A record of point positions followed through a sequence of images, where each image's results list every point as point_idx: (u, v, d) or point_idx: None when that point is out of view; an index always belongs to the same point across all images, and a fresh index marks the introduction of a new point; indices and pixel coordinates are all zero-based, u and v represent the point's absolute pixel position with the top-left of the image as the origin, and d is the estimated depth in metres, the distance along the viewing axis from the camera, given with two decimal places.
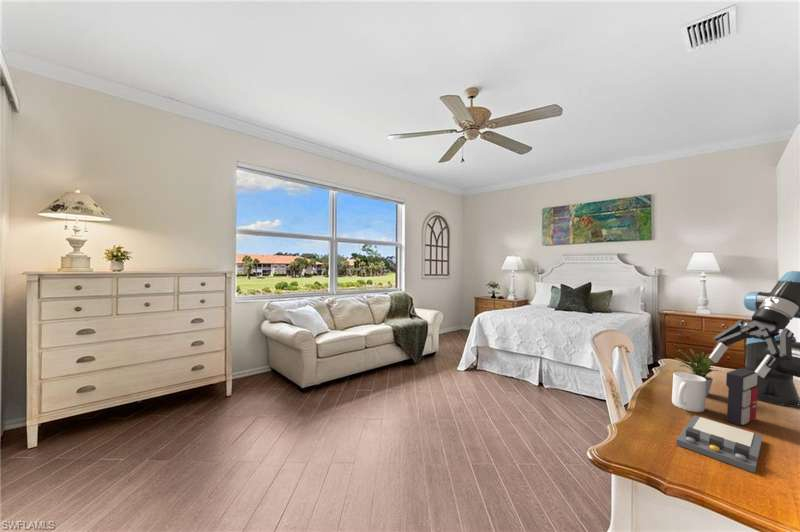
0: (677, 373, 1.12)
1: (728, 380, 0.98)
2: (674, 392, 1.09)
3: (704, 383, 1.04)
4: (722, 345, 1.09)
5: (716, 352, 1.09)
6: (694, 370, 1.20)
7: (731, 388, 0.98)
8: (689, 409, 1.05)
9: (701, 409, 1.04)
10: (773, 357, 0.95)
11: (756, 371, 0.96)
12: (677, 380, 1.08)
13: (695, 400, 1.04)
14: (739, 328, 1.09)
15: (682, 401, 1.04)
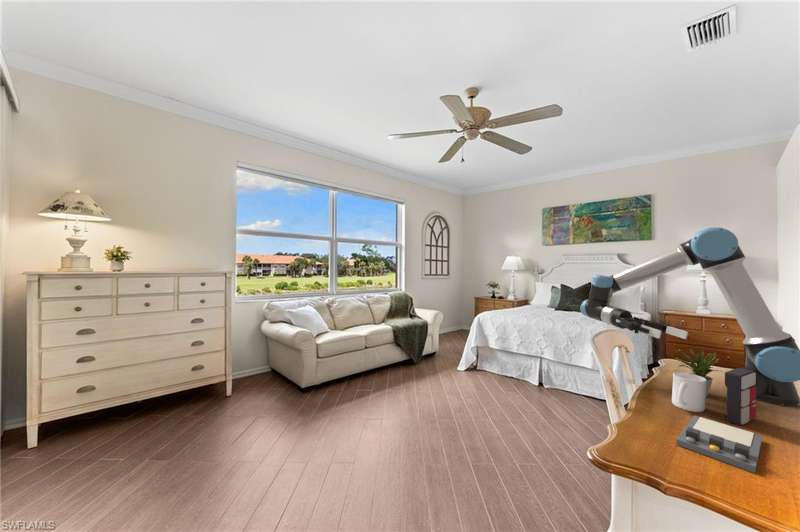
0: (677, 373, 1.12)
1: (726, 379, 0.99)
2: (674, 392, 1.09)
3: (704, 383, 1.04)
4: (667, 331, 1.20)
5: (676, 335, 1.17)
6: (694, 370, 1.20)
7: (730, 388, 0.98)
8: (689, 409, 1.05)
9: (701, 409, 1.04)
10: (639, 330, 1.16)
11: (658, 338, 1.11)
12: (677, 380, 1.08)
13: (695, 400, 1.04)
14: None
15: (682, 401, 1.04)
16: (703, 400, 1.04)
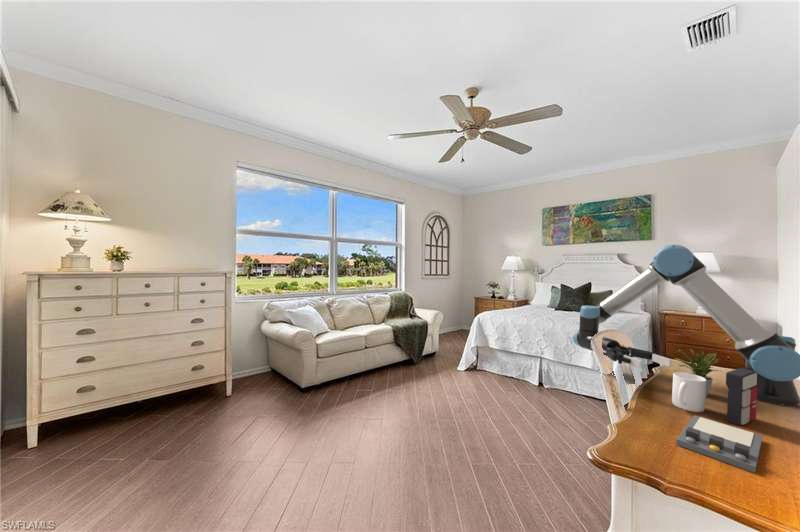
0: (677, 373, 1.12)
1: (727, 380, 0.99)
2: (674, 392, 1.09)
3: (704, 383, 1.04)
4: (653, 359, 1.24)
5: (661, 363, 1.21)
6: (694, 370, 1.20)
7: (731, 388, 0.98)
8: (689, 409, 1.05)
9: (701, 409, 1.04)
10: (622, 360, 1.21)
11: (639, 367, 1.16)
12: (677, 380, 1.08)
13: (695, 400, 1.04)
14: None
15: (682, 401, 1.04)
16: (703, 400, 1.04)
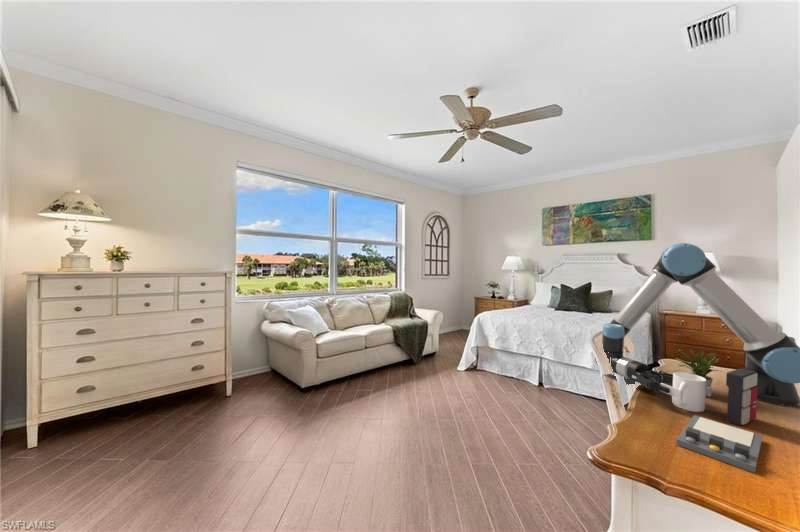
0: (677, 373, 1.12)
1: (728, 380, 0.98)
2: None
3: (704, 383, 1.04)
4: None
5: None
6: (694, 370, 1.20)
7: (731, 388, 0.98)
8: (689, 409, 1.05)
9: (701, 409, 1.04)
10: None
11: None
12: (676, 380, 1.08)
13: (695, 400, 1.04)
14: None
15: (682, 401, 1.04)
16: (703, 400, 1.04)
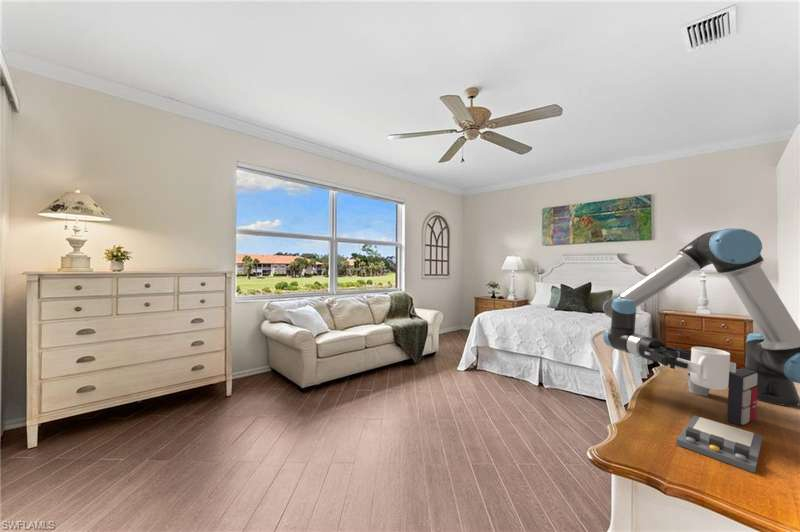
0: (696, 348, 1.00)
1: None
2: None
3: (727, 357, 0.92)
4: None
5: None
6: None
7: (731, 388, 0.98)
8: (710, 386, 0.93)
9: (724, 386, 0.92)
10: None
11: (700, 374, 0.92)
12: (695, 354, 0.96)
13: (717, 376, 0.92)
14: None
15: (702, 377, 0.92)
16: (726, 376, 0.92)
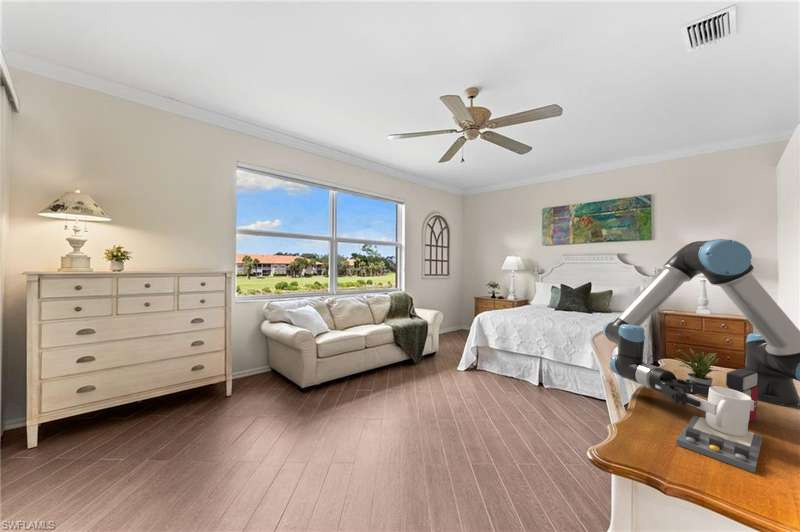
0: (713, 388, 0.94)
1: (728, 380, 0.98)
2: None
3: (749, 402, 0.86)
4: None
5: None
6: (694, 370, 1.20)
7: (731, 388, 0.98)
8: (728, 432, 0.87)
9: (743, 433, 0.87)
10: None
11: None
12: (714, 397, 0.90)
13: (736, 423, 0.87)
14: None
15: (721, 423, 0.86)
16: (746, 422, 0.87)
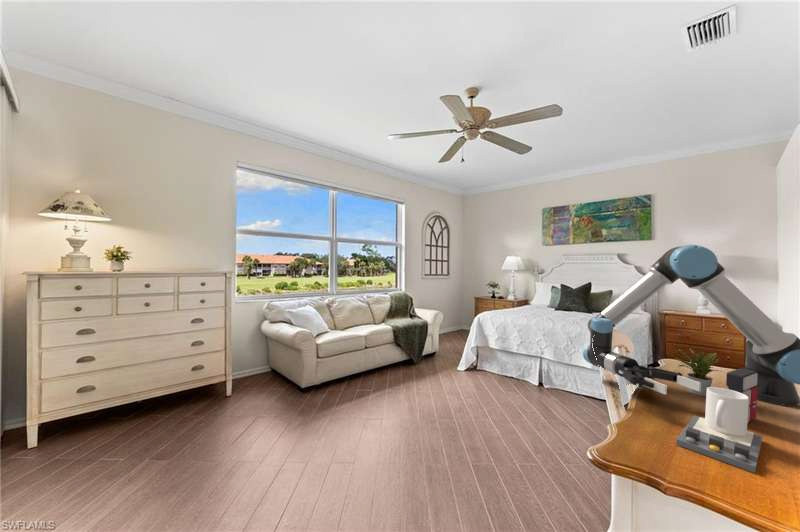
0: (711, 388, 0.94)
1: (728, 380, 0.98)
2: (709, 411, 0.91)
3: (746, 401, 0.87)
4: (678, 382, 1.07)
5: (689, 386, 1.04)
6: (694, 370, 1.20)
7: (731, 388, 0.98)
8: (728, 433, 0.88)
9: (743, 433, 0.87)
10: None
11: None
12: (712, 397, 0.90)
13: (735, 422, 0.87)
14: None
15: (720, 423, 0.86)
16: (745, 422, 0.87)
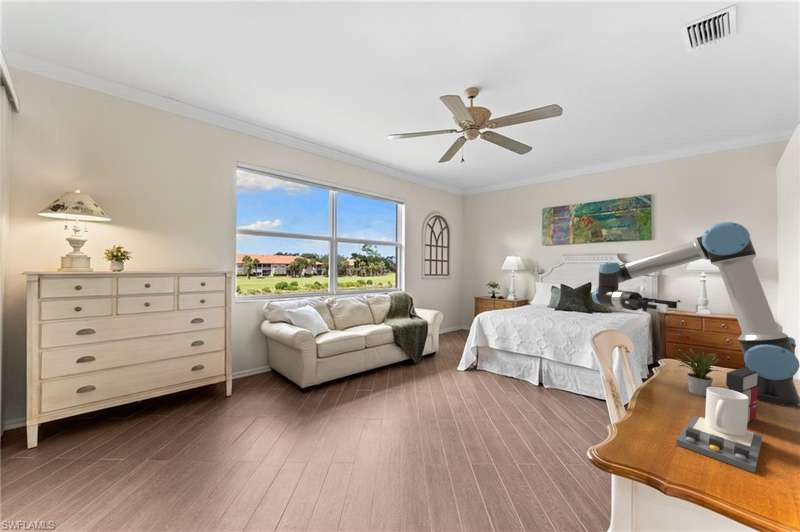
0: (711, 388, 0.94)
1: (728, 380, 0.98)
2: (708, 411, 0.91)
3: (746, 401, 0.87)
4: (678, 307, 1.22)
5: (687, 309, 1.19)
6: (694, 370, 1.20)
7: (731, 388, 0.98)
8: (728, 433, 0.88)
9: (743, 433, 0.87)
10: (647, 307, 1.19)
11: None
12: (712, 397, 0.90)
13: (735, 422, 0.87)
14: None
15: (720, 423, 0.86)
16: (745, 422, 0.87)
